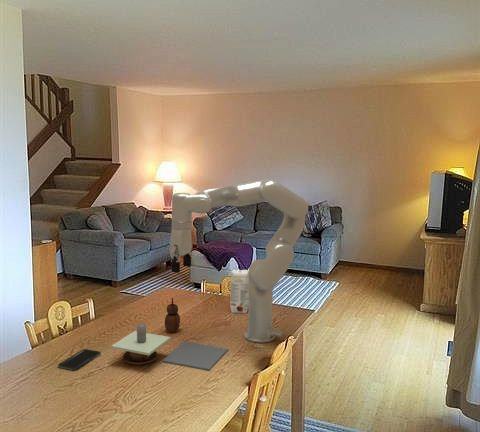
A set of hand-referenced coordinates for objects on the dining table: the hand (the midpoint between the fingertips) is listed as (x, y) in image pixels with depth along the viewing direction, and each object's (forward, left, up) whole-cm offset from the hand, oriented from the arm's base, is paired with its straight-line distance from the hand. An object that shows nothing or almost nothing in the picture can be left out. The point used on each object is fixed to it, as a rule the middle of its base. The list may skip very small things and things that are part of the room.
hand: (181, 269), depth 188 cm
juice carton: (-10, -40, -28) cm, 50 cm away
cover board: (+5, +22, -22) cm, 32 cm away
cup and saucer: (+5, +22, -29) cm, 37 cm away
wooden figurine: (+7, -6, -28) cm, 30 cm away
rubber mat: (-12, +12, -28) cm, 33 cm away
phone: (+24, +31, -29) cm, 49 cm away
